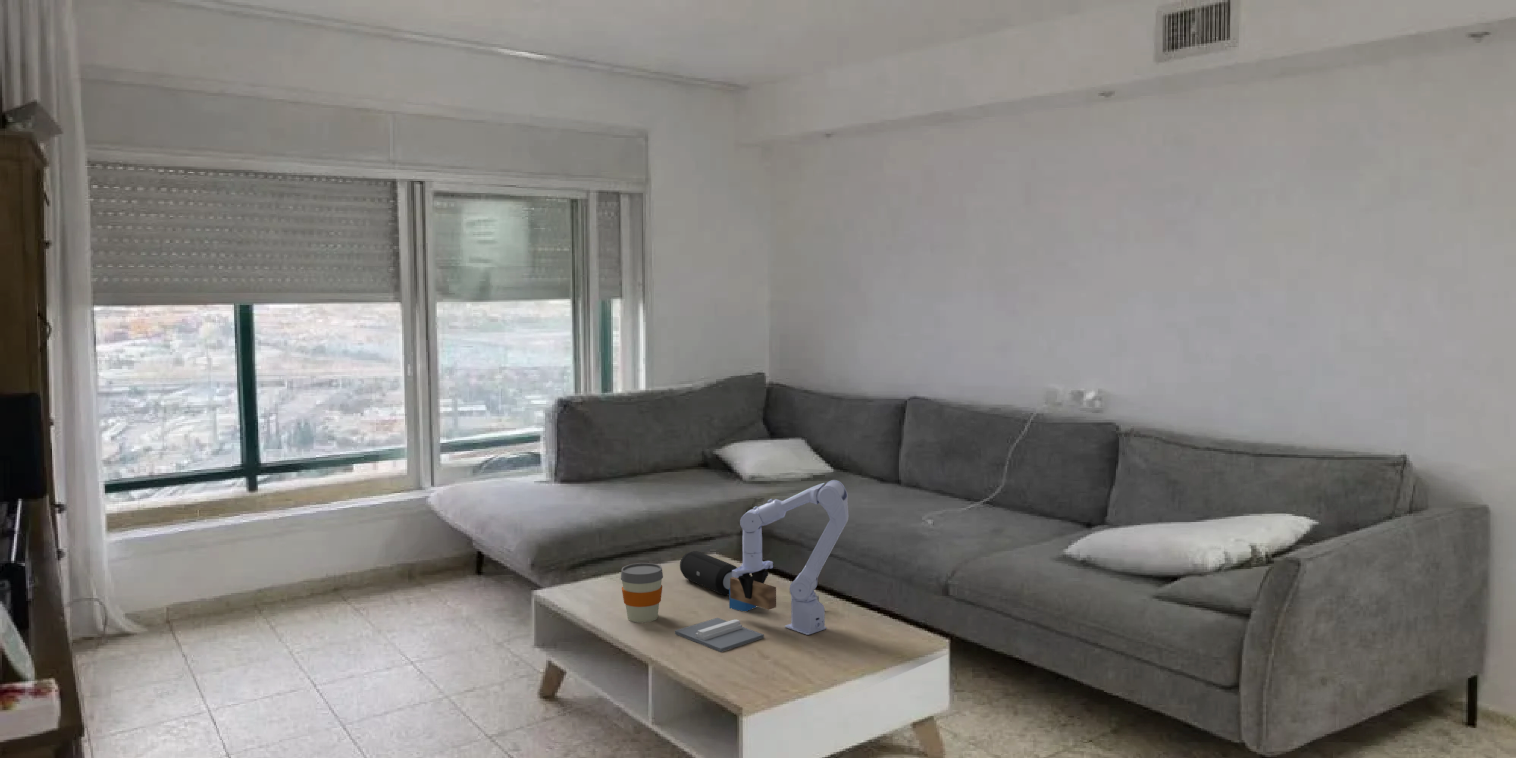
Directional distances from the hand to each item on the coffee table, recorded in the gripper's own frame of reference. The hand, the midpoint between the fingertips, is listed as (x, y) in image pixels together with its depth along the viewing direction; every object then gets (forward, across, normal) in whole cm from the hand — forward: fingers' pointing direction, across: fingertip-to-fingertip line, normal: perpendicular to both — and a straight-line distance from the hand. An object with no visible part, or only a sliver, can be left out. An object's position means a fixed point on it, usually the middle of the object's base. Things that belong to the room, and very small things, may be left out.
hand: (752, 596), depth 305 cm
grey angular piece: (+8, -20, +3) cm, 22 cm away
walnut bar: (+2, 0, 0) cm, 2 cm away
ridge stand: (+8, +14, +1) cm, 16 cm away
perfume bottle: (+8, -8, -13) cm, 17 cm away
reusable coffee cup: (+8, +20, -27) cm, 35 cm away
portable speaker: (+8, -14, -36) cm, 40 cm away
